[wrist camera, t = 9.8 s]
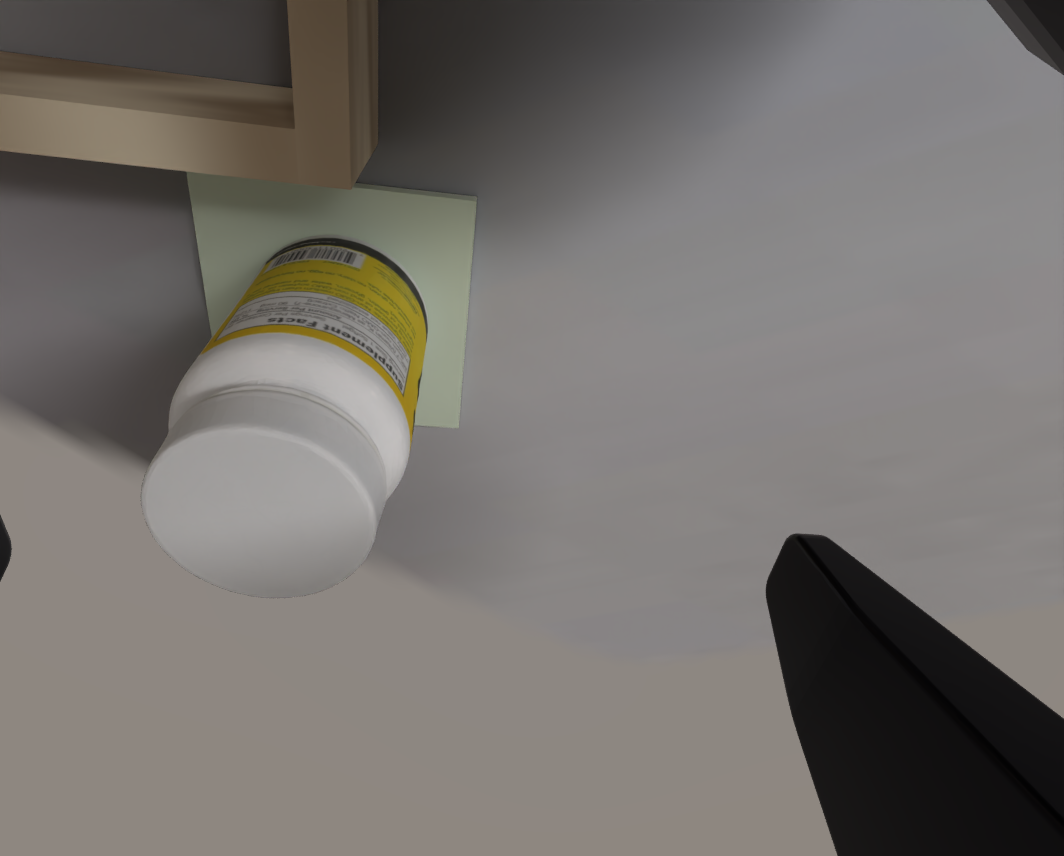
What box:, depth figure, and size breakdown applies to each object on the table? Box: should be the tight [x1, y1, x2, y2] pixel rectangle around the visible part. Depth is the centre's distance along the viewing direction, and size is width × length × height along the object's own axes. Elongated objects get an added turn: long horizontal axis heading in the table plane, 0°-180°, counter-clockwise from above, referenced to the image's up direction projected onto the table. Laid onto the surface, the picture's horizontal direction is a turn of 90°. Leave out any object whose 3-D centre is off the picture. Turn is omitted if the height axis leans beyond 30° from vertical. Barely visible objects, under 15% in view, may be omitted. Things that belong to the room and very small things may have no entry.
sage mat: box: [186, 171, 477, 428], centre depth 19 cm, size 7×7×1 cm
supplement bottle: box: [141, 235, 428, 598], centre depth 15 cm, size 5×5×8 cm
